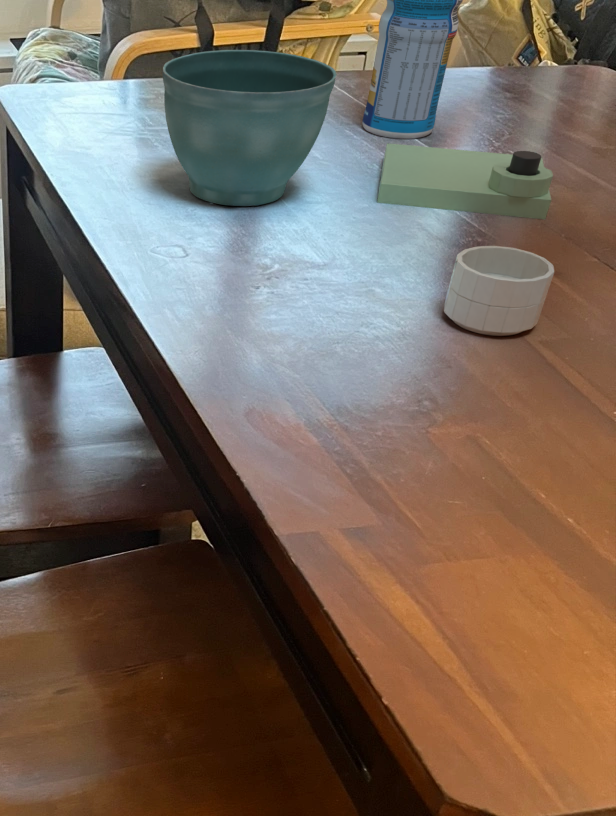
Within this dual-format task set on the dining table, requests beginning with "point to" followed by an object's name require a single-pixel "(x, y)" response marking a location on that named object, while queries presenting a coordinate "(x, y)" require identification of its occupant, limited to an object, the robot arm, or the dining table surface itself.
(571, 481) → the dining table surface
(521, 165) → the button
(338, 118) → the dining table surface
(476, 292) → the bowl
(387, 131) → the beverage bottle
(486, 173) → the pale green flat block
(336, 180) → the dining table surface
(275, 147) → the flower pot
